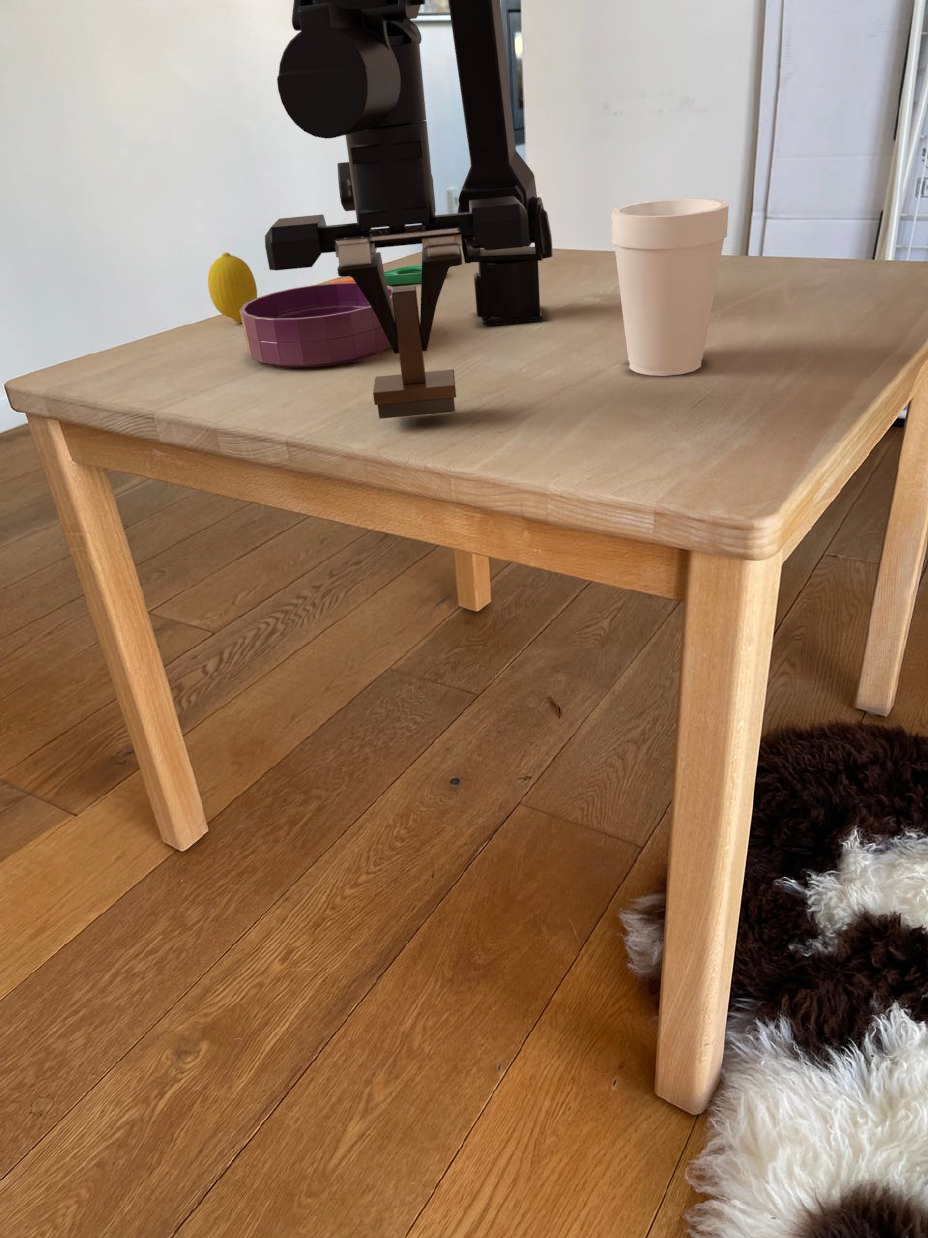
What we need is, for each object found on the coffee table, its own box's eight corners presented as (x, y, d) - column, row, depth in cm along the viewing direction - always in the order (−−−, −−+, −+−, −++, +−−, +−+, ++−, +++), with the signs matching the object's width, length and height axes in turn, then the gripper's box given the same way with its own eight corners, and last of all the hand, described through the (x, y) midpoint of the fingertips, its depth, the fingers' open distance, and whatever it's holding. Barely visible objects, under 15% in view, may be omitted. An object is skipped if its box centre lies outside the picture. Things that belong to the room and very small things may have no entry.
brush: (456, 395, 76) (445, 279, 71) (457, 412, 72) (446, 291, 68) (379, 402, 76) (363, 286, 71) (376, 420, 72) (359, 299, 68)
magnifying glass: (426, 272, 128) (425, 259, 128) (446, 277, 124) (445, 264, 123) (325, 291, 123) (323, 278, 122) (341, 298, 118) (339, 284, 117)
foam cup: (654, 388, 77) (657, 220, 70) (591, 364, 84) (589, 211, 78) (742, 365, 80) (753, 203, 74) (674, 344, 88) (679, 195, 81)
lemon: (252, 327, 108) (237, 255, 104) (208, 329, 110) (193, 258, 105) (269, 316, 113) (256, 246, 109) (228, 317, 114) (213, 249, 110)
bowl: (403, 323, 104) (398, 276, 102) (400, 362, 90) (393, 309, 88) (262, 336, 104) (253, 290, 102) (238, 377, 91) (227, 325, 88)
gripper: (510, 107, 71) (521, 315, 79) (268, 130, 71) (303, 336, 79) (524, 114, 61) (534, 350, 69) (244, 141, 61) (287, 373, 69)
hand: (411, 350), depth 72 cm, fingers closed on brush, 2 cm apart
